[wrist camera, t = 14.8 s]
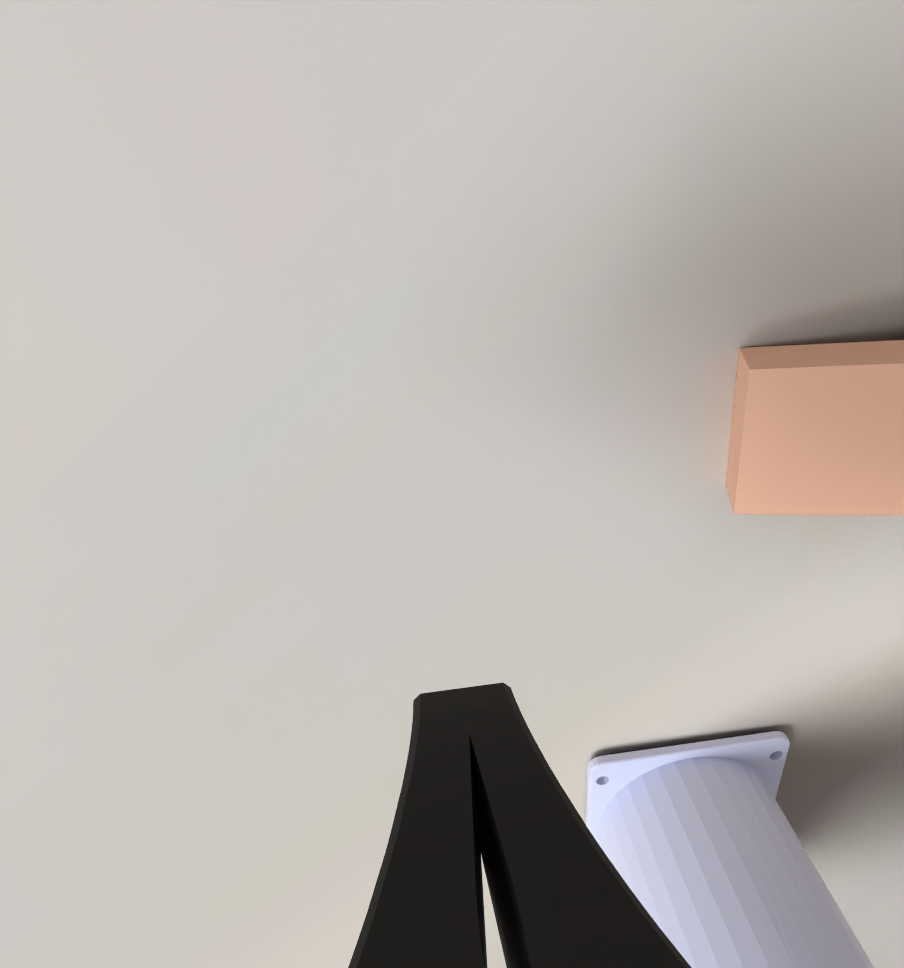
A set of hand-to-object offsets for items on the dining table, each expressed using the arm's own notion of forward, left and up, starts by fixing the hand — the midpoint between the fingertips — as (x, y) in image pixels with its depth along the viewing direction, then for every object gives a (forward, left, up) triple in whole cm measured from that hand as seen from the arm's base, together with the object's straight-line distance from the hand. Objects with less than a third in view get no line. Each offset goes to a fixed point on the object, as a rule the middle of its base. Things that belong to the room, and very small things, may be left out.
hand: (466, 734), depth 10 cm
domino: (0, -9, -9) cm, 13 cm away
